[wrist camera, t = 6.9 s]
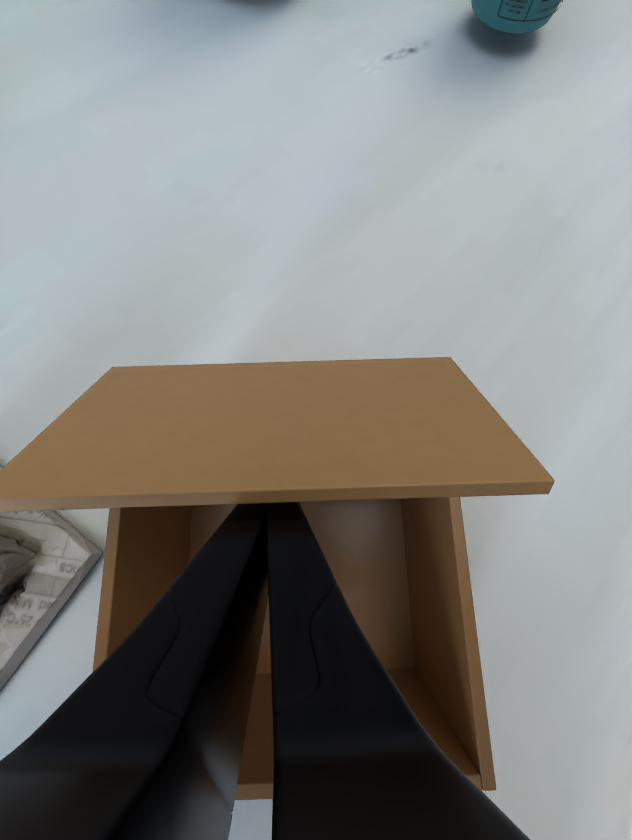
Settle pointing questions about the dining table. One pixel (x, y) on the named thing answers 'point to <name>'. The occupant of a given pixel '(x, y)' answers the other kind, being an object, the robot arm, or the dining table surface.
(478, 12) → the beverage bottle
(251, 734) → the carton
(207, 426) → the flap
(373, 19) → the dining table surface
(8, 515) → the packaged product
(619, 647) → the dining table surface
